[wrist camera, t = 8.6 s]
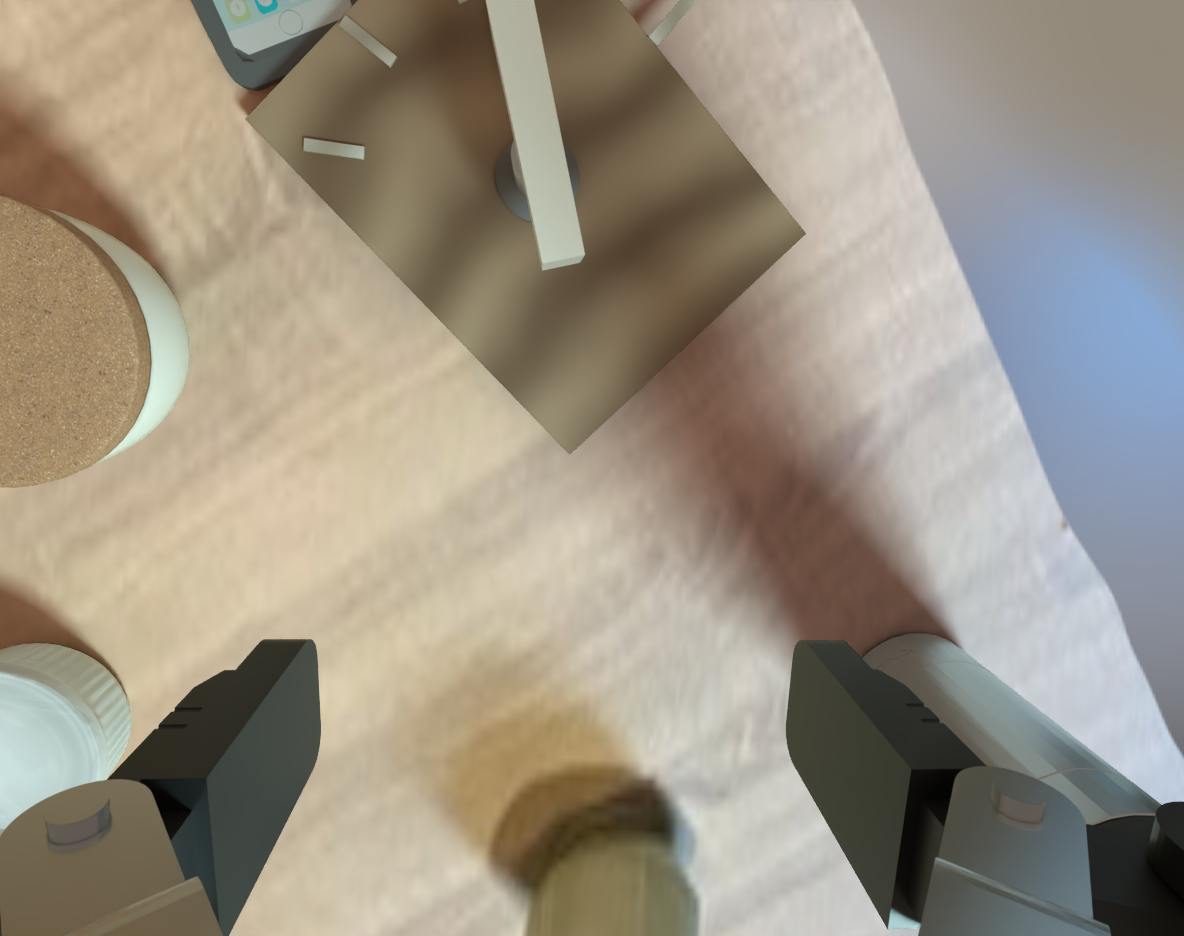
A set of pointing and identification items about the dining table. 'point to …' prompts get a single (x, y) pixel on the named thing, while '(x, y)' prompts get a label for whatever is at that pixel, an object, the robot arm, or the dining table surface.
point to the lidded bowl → (79, 345)
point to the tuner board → (500, 211)
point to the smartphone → (266, 34)
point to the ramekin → (56, 724)
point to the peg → (535, 132)
